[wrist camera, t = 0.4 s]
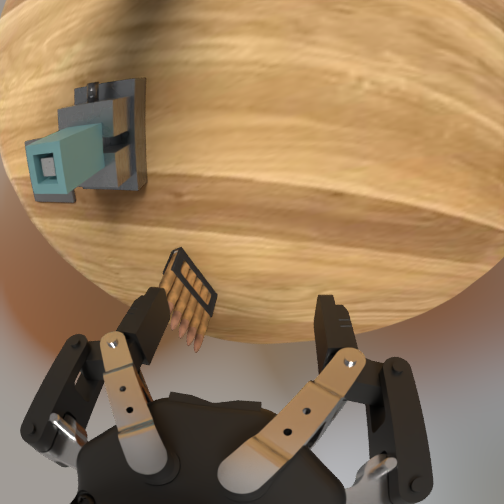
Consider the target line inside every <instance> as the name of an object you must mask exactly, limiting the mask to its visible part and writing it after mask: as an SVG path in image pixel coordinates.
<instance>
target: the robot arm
mask: <svg viewBox="0 0 504 504" xmlns="http://www.w3.org/2000/svg"><path fill="white" fill-rule="evenodd" d="M169 320H170V307H169V304H168V300H167V296H166V292H165V289H164V288H158V287H150V288H149V289H148V291H147V292H146V294H145V295H144V296H143V295H141V296H140V297H139V298H138V299H136V300H135V301H134V303H133V304H132V306H131V308H130V309H129V310H128V312H127V314H126V315H125V317H124V318H123V320H122V322H121V323H120V325H119V326H118V328H117V330H116V331H114V332H110V333H107V334H106V335H104V336H103V338H102V339H101V341H89V342H88V340H87V338H86V337H85V336H84V335H82V334H76V335H73V336H71V337H70V338H69V339H68V340H67V341H66V342H65V344H64V346H63V347H62V349H61V351H60V353H59V354H58V356H57V358H56V359H55V361H54V363H53V364H52V366H51V368H50V370H49V371H48V373H47V375H46V377H45V379H44V380H43V382H42V384H41V386H40V388H39V390H38V392H37V394H36V396H35V398H34V400H33V402H32V404H31V406H30V408H29V410H28V412H27V414H26V416H25V418H24V420H23V423H22V425H21V429H20V432H21V436H22V438H23V440H24V441H25V442H27V443H28V444H29V445H31V446H32V447H33V448H34V449H35V450H37V451H38V452H39V453H41V454H42V455H43V456H45V457H46V458H48V459H49V460H51V461H54V462H56V463H57V464H58V465H60V466H62V467H72V468H74V469H76V470H77V473H78V492H77V495H76V497H75V498H74V500H73V501H72V502H71V503H70V504H415V503H417V502H420V501H422V500H423V499H425V498H426V497H427V496H428V495H429V494H430V492H431V490H432V488H433V474H432V466H431V458H430V452H429V445H428V440H427V434H426V428H425V423H424V418H423V414H422V409H421V405H420V401H419V396H418V392H417V389H416V385H415V381H414V377H413V373H412V370H411V367H410V365H409V363H408V362H407V361H405V360H404V359H402V358H399V357H391V358H389V359H387V360H386V361H385V362H384V363H380V362H375V361H371V360H368V359H366V358H365V356H364V354H363V353H362V352H361V351H359V350H358V347H357V343H356V339H355V335H354V331H353V327H352V323H351V321H350V316H349V312H348V311H347V309H346V308H345V307H344V306H343V305H335V301H334V297H333V295H318V297H317V304H316V310H315V316H314V333H315V342H316V350H317V361H318V372H319V376H318V377H317V378H316V379H315V380H314V381H309V382H308V383H307V384H306V385H305V386H304V387H303V388H302V389H301V390H300V391H299V393H298V394H297V395H296V396H295V397H294V398H293V399H292V400H291V401H290V402H289V403H288V404H287V405H286V406H285V407H284V409H282V411H281V412H280V413H279V414H278V415H277V414H275V413H273V412H272V411H269V410H267V409H263V408H261V402H254V401H253V402H252V401H239V400H237V401H229V402H221V403H211V402H208V401H206V400H203V399H200V398H198V397H195V396H193V395H188V394H181V393H176V392H170V395H169V398H161V399H158V400H155V401H153V399H152V397H151V395H150V392H149V390H148V387H147V385H146V382H145V380H144V377H143V374H142V372H141V370H140V367H141V365H142V364H146V365H150V363H151V361H152V358H153V356H154V354H155V351H156V349H157V347H158V345H159V342H160V340H161V338H162V336H163V333H164V331H165V329H166V327H167V325H168V322H169ZM79 372H81V375H80V376H79V378H78V380H77V383H76V385H75V380H76V378H77V375H78V374H79ZM104 382H105V386H106V390H107V394H108V398H109V402H110V405H111V409H112V412H113V416H114V419H115V421H116V425H115V426H113V427H112V428H110V429H108V430H107V431H105V432H103V433H102V434H100V435H99V436H97V437H95V438H94V439H92V440H90V441H89V442H88V441H87V432H86V430H85V429H86V426H87V424H88V421H89V419H90V416H91V413H92V411H93V408H94V406H95V403H96V401H97V398H98V396H99V394H100V391H101V389H102V386H103V384H104ZM347 401H353V402H358V403H363V404H365V406H366V415H367V426H368V439H369V455H370V460H369V461H368V462H366V463H365V464H364V465H363V466H362V467H361V468H360V469H359V470H358V472H357V475H356V480H355V482H354V484H353V486H352V487H350V488H346V489H345V488H344V486H343V484H342V483H341V482H340V480H339V479H338V478H337V477H336V476H335V475H334V474H333V473H332V472H331V471H330V470H329V469H328V468H327V467H326V466H325V465H324V464H323V463H322V462H321V461H320V460H319V459H318V457H316V455H315V454H314V453H313V452H312V451H311V448H312V447H313V446H314V445H315V444H316V442H317V441H318V440H319V439H320V438H321V436H322V435H323V434H324V432H325V431H326V429H327V428H328V426H329V425H330V424H331V422H332V421H333V420H334V418H335V417H336V416H337V414H338V413H339V411H340V410H341V409H342V408H343V406H344V405H345V403H346V402H347Z"/></svg>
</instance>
